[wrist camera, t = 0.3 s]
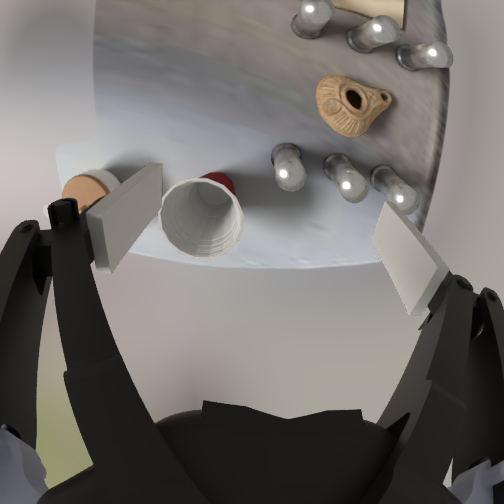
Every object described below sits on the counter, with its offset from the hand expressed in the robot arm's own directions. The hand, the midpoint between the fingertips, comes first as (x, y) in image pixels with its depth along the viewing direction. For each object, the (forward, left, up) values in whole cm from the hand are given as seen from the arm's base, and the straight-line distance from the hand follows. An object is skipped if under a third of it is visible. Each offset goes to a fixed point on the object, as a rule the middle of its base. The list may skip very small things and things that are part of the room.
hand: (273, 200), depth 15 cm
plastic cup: (+10, -7, -26) cm, 29 cm away
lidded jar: (+12, -27, -27) cm, 40 cm away
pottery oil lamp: (-7, +11, -27) cm, 29 cm away
